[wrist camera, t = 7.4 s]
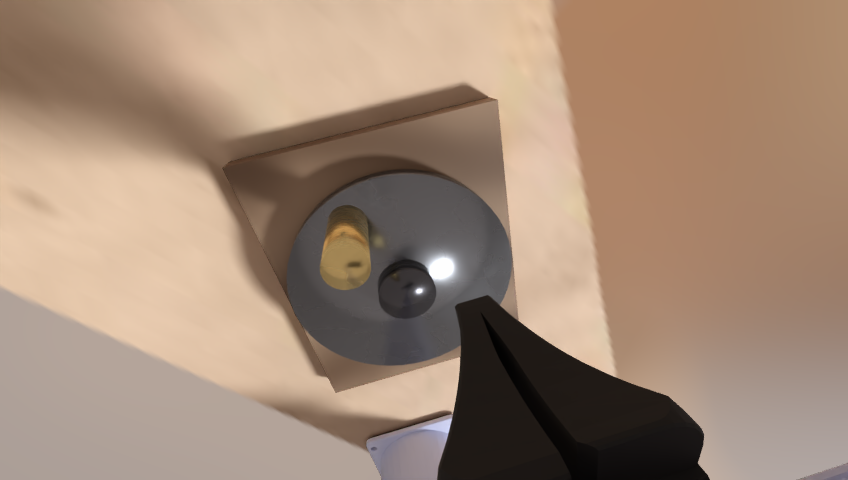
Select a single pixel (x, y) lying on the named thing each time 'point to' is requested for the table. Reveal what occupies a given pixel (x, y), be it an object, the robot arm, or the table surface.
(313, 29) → the table surface
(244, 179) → the base board
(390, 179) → the handwheel
